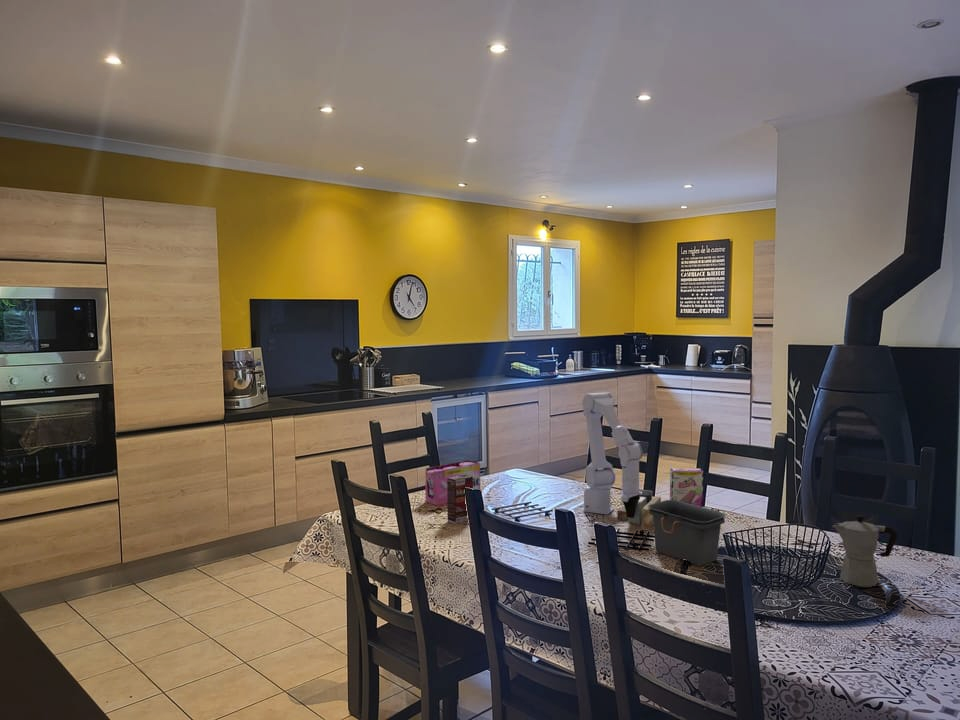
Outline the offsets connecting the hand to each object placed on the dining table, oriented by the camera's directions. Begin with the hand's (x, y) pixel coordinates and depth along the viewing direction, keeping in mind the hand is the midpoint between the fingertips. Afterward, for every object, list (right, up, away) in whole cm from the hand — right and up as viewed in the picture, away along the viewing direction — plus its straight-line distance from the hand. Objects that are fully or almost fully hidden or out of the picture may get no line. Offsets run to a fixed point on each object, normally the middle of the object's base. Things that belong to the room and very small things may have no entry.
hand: (630, 517), depth 239 cm
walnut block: (-1, -2, +9) cm, 9 cm away
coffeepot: (+51, -5, -54) cm, 74 cm away
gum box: (-63, -1, +38) cm, 74 cm away
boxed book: (+4, -2, +6) cm, 7 cm away
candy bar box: (+23, -2, +12) cm, 26 cm away
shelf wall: (+8, -2, +2) cm, 8 cm away
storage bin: (+9, -5, -33) cm, 34 cm away
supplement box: (-59, -3, +7) cm, 60 cm away
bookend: (+7, -2, +11) cm, 13 cm away
